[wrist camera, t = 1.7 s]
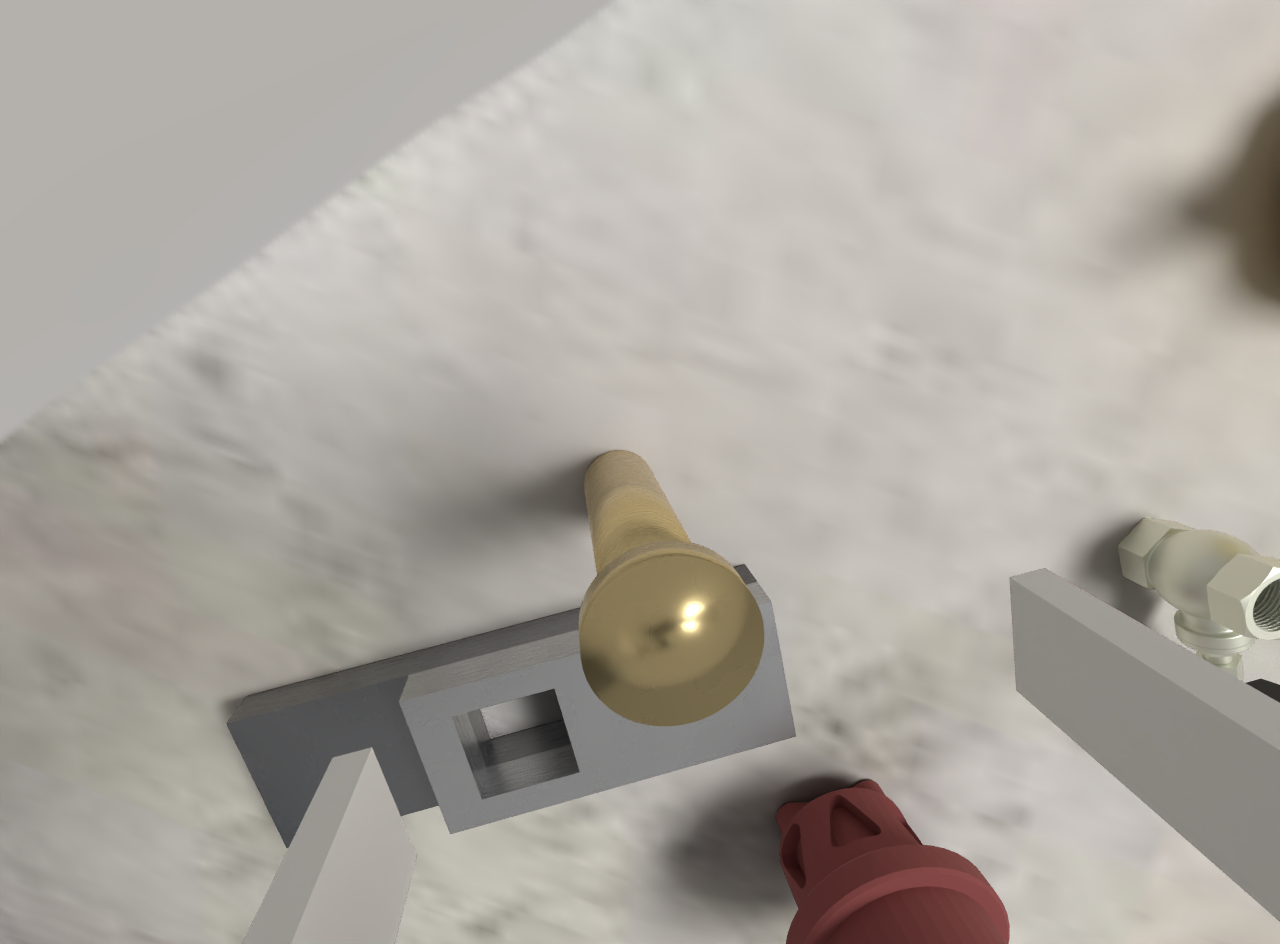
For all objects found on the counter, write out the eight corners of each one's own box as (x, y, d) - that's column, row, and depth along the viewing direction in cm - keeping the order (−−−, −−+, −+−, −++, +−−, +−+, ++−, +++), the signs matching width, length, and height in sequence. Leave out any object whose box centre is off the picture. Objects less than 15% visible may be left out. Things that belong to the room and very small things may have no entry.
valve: (1083, 538, 34) (1117, 717, 37) (1205, 594, 27) (1233, 804, 31) (1198, 489, 34) (1222, 672, 37) (1347, 534, 27) (1358, 750, 31)
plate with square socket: (302, 814, 32) (268, 885, 28) (246, 696, 30) (201, 755, 26) (768, 685, 33) (795, 736, 30) (744, 564, 31) (771, 601, 28)
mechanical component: (877, 899, 38) (719, 880, 36) (940, 756, 36) (776, 728, 34) (1021, 1168, 26) (799, 1160, 25) (1128, 981, 24) (893, 957, 22)
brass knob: (581, 542, 30) (604, 747, 16) (556, 449, 29) (559, 587, 15) (677, 517, 30) (778, 698, 17) (656, 423, 29) (747, 537, 15)
